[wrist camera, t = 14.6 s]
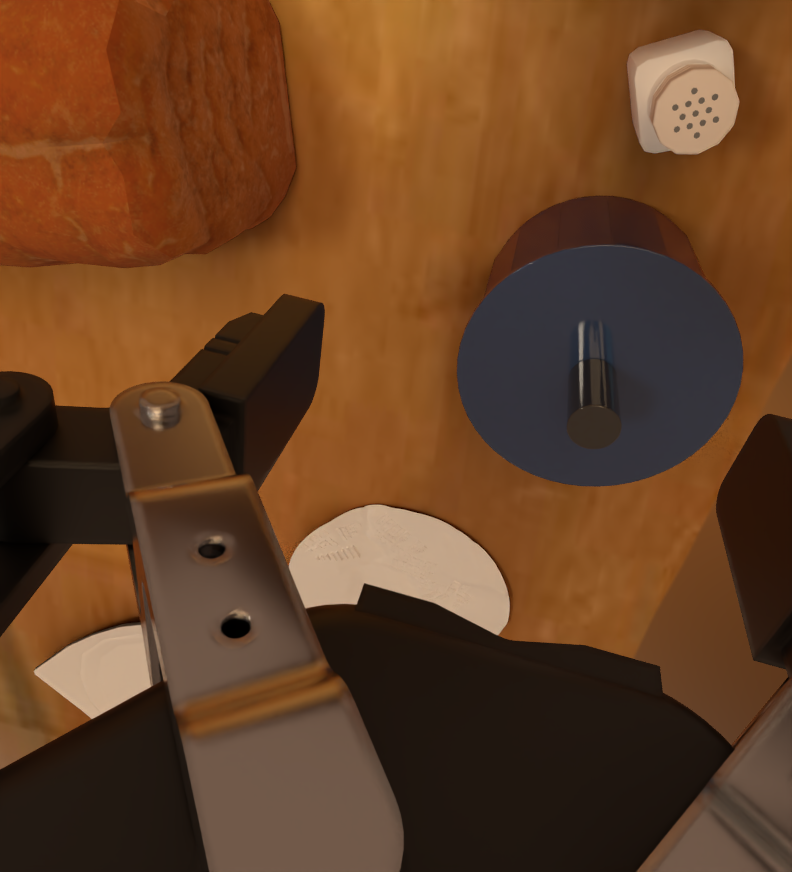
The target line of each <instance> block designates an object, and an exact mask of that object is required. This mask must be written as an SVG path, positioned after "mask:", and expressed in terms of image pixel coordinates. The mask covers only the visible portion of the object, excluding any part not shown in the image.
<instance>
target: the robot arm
mask: <svg viewBox="0 0 792 872" xmlns="http://www.w3.org/2000/svg"><path fill="white" fill-rule="evenodd" d="M324 316H325V310H324V305H323V303H320V302H316V301H312V300H308V299H304V298H299V297H295V296H291V295H287V294H283V295H282V296H281V297H280V298H279V299H278V300H277V301H276V302H275V303H274V304H273V306H272V307H271V308H270V309H269V310H268V311H267V312H266V313H265V314H264V315H260V314H256V313H252V312H251V313H249V314H246V315H244V316H241V317H239V318H236V319H234V320H232V321H229V322H228V323H227V324H226V325H225V326H224V327H223V328H222V329H221V330H220V331H219V332H218V333H217V334H216V335H215V338H212V339H211V340H210V341H209V342H208V343H207V344H206V345H205V347H204V350H203V349H201V350H200V351H199V352H198V353H197V354H196V355H195V356H194V357H193V358H192V359H191V360H190V361H189V362H188V364H187V365H186V366H185V367H184V368H183V369H182V370H181V371H180V372H179V373H178V374H177V375H176V376H175V377H174V378H173V379H172V380H171V381H170V382H150V383H144V384H140V385H136V386H133V387H131V388H128V389H127V390H125V391H123V392H121V393H120V394H119V395H117V396H116V397H115V398H114V400H113V401H112V403H111V405H110V408H93V407H73V406H55V401H54V396H53V390H52V388H51V386H50V385H49V384H48V383H47V382H46V381H45V380H43V379H42V378H40V377H37V376H35V375H32V374H28V373H22V372H12V371H7V372H0V637H1V635H2V634H3V633H4V632H5V630H6V629H7V628H8V626H9V625H10V624H11V623H12V621H13V620H14V619H15V617H16V616H17V615H18V614H19V612H20V611H21V610H22V608H23V607H24V606H25V605H26V603H27V602H28V601H29V599H30V598H31V597H32V596H33V594H34V593H35V592H36V590H37V589H38V588H39V587H40V585H41V584H42V583H43V581H44V580H45V579H46V578H47V576H48V575H49V574H50V572H51V571H52V570H53V569H54V567H55V566H56V565H57V563H58V562H59V561H60V560H61V558H62V557H63V556H64V554H65V553H66V552H67V551H68V549H69V548H70V547H71V545H72V544H126V548H127V553H128V559H129V564H130V569H131V575H132V580H133V585H134V591H135V596H136V602H137V607H138V612H139V618H140V623H141V628H142V634H143V640H144V646H145V652H146V659H147V666H148V673H149V679H150V685H151V687H150V688H148V689H146V690H144V691H142V692H141V693H139V694H137V695H135V696H133V697H131V698H130V699H128V700H126V701H124V702H122V703H120V704H119V705H117V706H115V707H113V708H111V709H110V710H108V711H106V712H104V713H102V714H100V715H99V716H97V717H95V718H93V719H91V720H90V721H88V722H86V723H84V724H82V725H80V726H79V727H77V728H75V729H73V730H71V731H70V732H68V733H66V734H64V735H62V736H60V737H59V738H57V739H55V740H53V741H51V742H50V743H48V744H46V745H44V746H42V747H40V748H39V749H37V750H35V751H33V752H31V753H30V754H28V755H26V756H24V757H22V758H20V759H19V760H17V761H15V762H13V763H11V764H10V765H8V766H6V767H4V768H2V769H0V872H792V419H789V418H785V417H780V416H777V415H773V414H767V415H765V416H763V417H762V418H761V419H760V420H759V421H758V423H757V424H756V426H755V427H754V429H753V431H752V432H751V434H750V436H749V437H748V439H747V441H746V443H745V444H744V446H743V448H742V449H741V451H740V453H739V454H738V456H737V458H736V460H735V461H734V463H733V465H732V466H731V468H730V470H729V471H728V473H727V475H726V477H725V478H724V480H723V482H722V484H721V487H720V489H719V493H718V497H717V503H716V513H717V517H718V522H719V526H720V529H721V533H722V537H723V541H724V545H725V549H726V553H727V557H728V561H729V565H730V569H731V573H732V577H733V581H734V585H735V589H736V593H737V597H738V601H739V605H740V609H741V613H742V617H743V621H744V625H745V629H746V633H747V637H748V641H749V645H750V649H751V653H752V657H753V660H754V661H758V662H762V663H765V664H768V665H772V666H776V667H779V668H783V669H786V671H787V674H788V678H787V679H786V680H785V681H784V682H783V684H782V685H781V686H780V687H779V688H778V689H777V691H776V692H775V693H774V694H773V695H772V697H771V698H770V699H769V700H768V701H767V703H766V704H765V705H764V706H763V708H762V709H761V710H760V711H759V712H758V713H757V715H756V716H755V717H754V718H753V720H752V721H751V722H750V723H749V724H748V726H747V727H746V728H745V729H744V730H743V732H742V733H741V734H740V735H739V736H738V738H737V739H736V740H735V741H734V743H733V744H732V745H730V744H729V742H728V741H727V740H726V739H725V738H724V737H723V736H722V735H721V734H720V733H719V732H717V731H716V730H715V729H714V728H713V727H712V726H711V725H709V724H708V723H707V722H706V721H705V720H704V719H702V718H701V717H700V716H698V715H697V714H696V713H694V712H693V711H692V710H690V709H689V708H688V707H686V706H684V705H683V704H681V703H680V702H678V701H677V700H675V699H673V698H672V697H670V696H668V695H666V694H664V693H663V691H662V682H661V674H660V667H659V666H657V665H653V664H649V663H646V662H642V661H638V660H635V659H632V658H628V657H625V656H621V655H618V654H614V653H610V652H607V651H603V650H600V649H596V648H593V647H589V646H586V645H572V644H556V643H540V642H524V641H512V640H508V639H504V638H502V637H500V636H498V635H496V634H494V633H492V632H490V631H488V630H486V629H484V628H482V627H480V626H478V625H476V624H474V623H472V622H471V621H469V620H467V619H465V618H463V617H461V616H459V615H457V614H455V613H453V612H451V611H449V610H447V609H445V608H443V607H441V606H440V605H438V604H436V603H433V602H429V601H426V600H422V599H419V598H415V597H412V596H408V595H405V594H401V593H397V592H394V591H390V590H387V589H383V588H380V587H376V586H373V585H369V584H366V583H364V585H363V588H362V591H361V594H360V596H359V599H358V602H357V604H330V605H321V606H315V607H309V608H305V606H304V604H303V602H302V599H301V597H300V594H299V592H298V589H297V587H296V584H295V582H294V579H293V577H292V575H291V572H290V570H289V567H288V565H287V562H286V560H285V557H284V555H283V553H282V550H281V548H280V545H279V543H278V540H277V538H276V535H275V533H274V531H273V528H272V526H271V523H270V521H269V518H268V516H267V513H266V511H265V509H264V506H263V504H262V501H261V499H260V496H259V494H258V490H259V488H260V487H261V485H262V484H263V482H264V480H265V479H266V477H267V475H268V474H269V472H270V471H271V469H272V467H273V466H274V464H275V462H276V461H277V459H278V457H279V456H280V454H281V453H282V451H283V449H284V448H285V446H286V444H287V443H288V441H289V440H290V438H291V436H292V435H293V433H294V431H295V430H296V428H297V426H298V425H299V423H300V422H301V420H302V418H303V417H304V415H305V413H306V412H307V410H308V409H309V407H310V405H311V403H312V400H313V397H314V394H315V391H316V387H317V383H318V377H319V367H320V357H321V347H322V337H323V327H324Z"/></svg>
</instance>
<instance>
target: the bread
mask: <svg viewBox="0 0 792 872" xmlns="http://www.w3.org/2000/svg"><path fill="white" fill-rule="evenodd" d="M295 169H296V161H295V152H294V144H293V135H292V127H291V118H290V110H289V101H288V93H287V84H286V76H285V67H284V59H283V50H282V42H281V33H280V25H279V21H278V19H277V17H276V15H275V13H274V11H273V8H272V6H271V4H270V2H269V0H0V265H6V266H20V267H38V266H50V265H61V264H73V263H82V264H91V265H100V266H110V267H119V268H130V267H142V266H154V265H161V264H163V263H166V262H168V261H170V260H172V259H174V258H176V257H179V256H181V255H183V254H207V253H209V252H210V251H212V250H214V249H216V248H217V247H219V246H221V245H222V244H224V243H226V242H228V241H229V240H231V239H233V238H235V237H236V236H238V235H239V234H240V233H241V232H242V231H244V230H247V229H251V228H253V227H255V226H257V225H258V224H260V223H261V222H263V221H265V220H266V219H268V218H269V217H270V216H271V215H272V214H273V212H274V211H275V210H276V208H277V207H278V205H279V204H280V203H281V201H282V200H283V199H284V197H285V196H286V193H287V190H288V188H289V185H290V182H291V180H292V177H293V174H294V172H295Z"/></svg>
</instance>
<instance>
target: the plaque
mask: <svg viewBox="0 0 792 872" xmlns="http://www.w3.org/2000/svg"><path fill="white" fill-rule="evenodd" d="M289 570H290V572H291V575H292V577H293V579H294V582H295V584H296V587H297V589H298V592H299V594H300V597H301V599H302V602H303V604H304V606H305V608H309V607H315V606H321V605H330V604H357V602H358V599H359V596H360V594H361V591H362V588H363V585H364V583H366V584H369V585H373V586H376V587H380V588H383V589H387V590H390V591H394V592H397V593H401V594H405V595H408V596H412V597H415V598H419V599H422V600H426V601H429V602H433V603H436V604H438V605H440V606H441V607H443V608H445V609H447V610H449V611H451V612H453V613H455V614H457V615H459V616H461V617H463V618H465V619H467V620H469V621H471V622H472V623H474V624H476V625H478V626H480V627H482V628H484V629H486V630H488V631H490V632H492V633H494V634H496V635H498V634H499V633H500V632H501V631H502V629H503V628H504V627H505V626H506V624H507V622H508V618H509V611H510V601H509V596H508V591H507V588H506V585H505V582H504V580H503V577H502V575H501V573H500V571H499V569H498V568H497V566H496V564H495V563H494V561H493V560H492V559H491V557H490V556H489V555H488V554H487V553H486V551H485V550H484V549H483V548H481V547H480V546H479V545H478V544H477V543H475V542H473V541H472V540H471V539H470V538H469V537H467V536H466V535H465V534H463V533H462V532H460V531H458V530H457V529H455V528H454V527H452V526H451V525H449V524H447V523H445V522H443V521H441V520H439V519H436V518H433V517H430V516H427V515H424V514H420V513H415V512H412V511H408V510H404V509H397V508H391V507H388V506H385V505H368V506H365V507H363V508H356V509H353V510H350V511H348V512H346V513H344V514H342V515H340V516H338V517H336V518H335V519H333V520H332V521H330V522H328V523H326V524H325V525H323V526H321V527H319V528H318V529H316V530H315V531H313V532H312V533H311V534H310V535H308V536H307V537H306V538H305V539H304V540H303V541H302V542H301V543H300V544H299V546H298V547H297V548H296V550H295V552H294V553H293V555H292V558H291V560H290V563H289Z"/></svg>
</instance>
